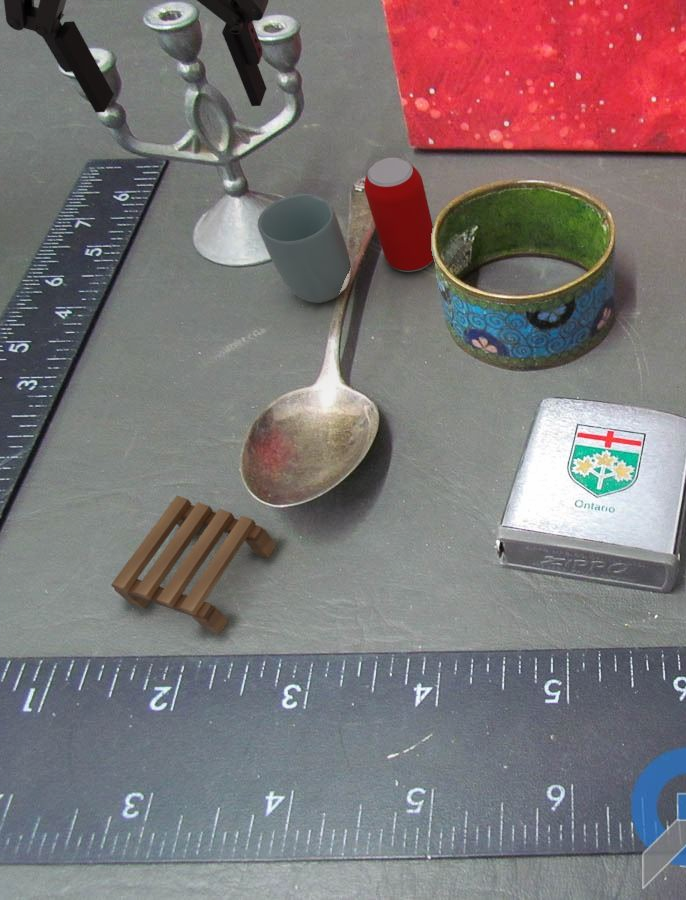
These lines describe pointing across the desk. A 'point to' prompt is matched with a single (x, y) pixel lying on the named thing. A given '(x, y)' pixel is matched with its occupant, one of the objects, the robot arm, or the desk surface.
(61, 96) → the desk surface
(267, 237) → the cup
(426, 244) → the beverage can
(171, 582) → the rack
